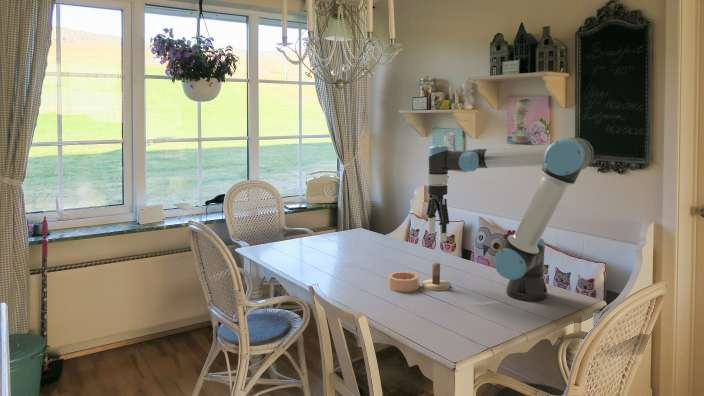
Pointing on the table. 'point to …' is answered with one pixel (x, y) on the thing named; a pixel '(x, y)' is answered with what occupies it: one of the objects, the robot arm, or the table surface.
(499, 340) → the table surface
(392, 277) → the bowl
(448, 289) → the mat
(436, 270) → the lid
